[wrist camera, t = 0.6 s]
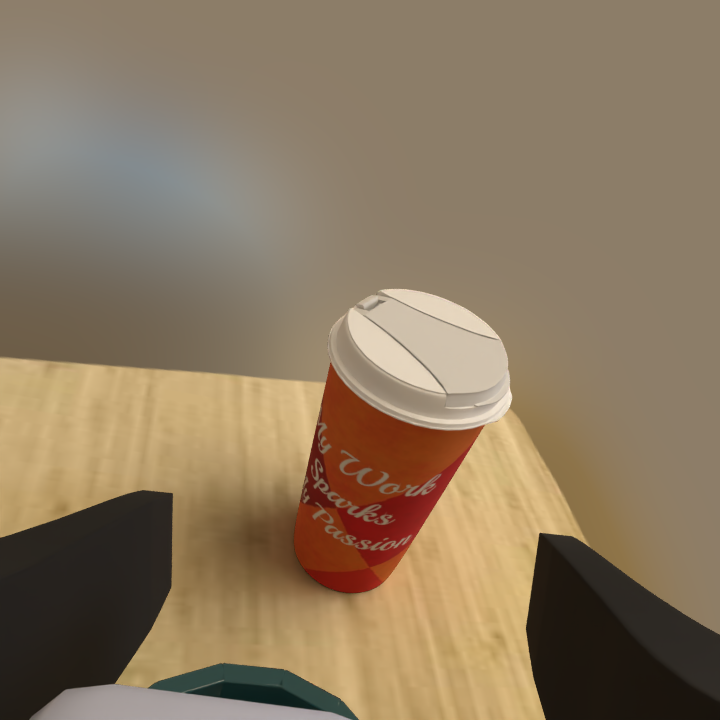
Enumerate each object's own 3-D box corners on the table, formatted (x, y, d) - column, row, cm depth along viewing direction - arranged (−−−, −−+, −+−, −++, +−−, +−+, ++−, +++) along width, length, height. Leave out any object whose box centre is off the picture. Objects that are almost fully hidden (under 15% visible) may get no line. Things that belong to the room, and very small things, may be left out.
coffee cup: (241, 546, 34) (294, 322, 25) (330, 466, 40) (398, 263, 31) (367, 648, 32) (476, 439, 23) (441, 546, 38) (551, 349, 29)
